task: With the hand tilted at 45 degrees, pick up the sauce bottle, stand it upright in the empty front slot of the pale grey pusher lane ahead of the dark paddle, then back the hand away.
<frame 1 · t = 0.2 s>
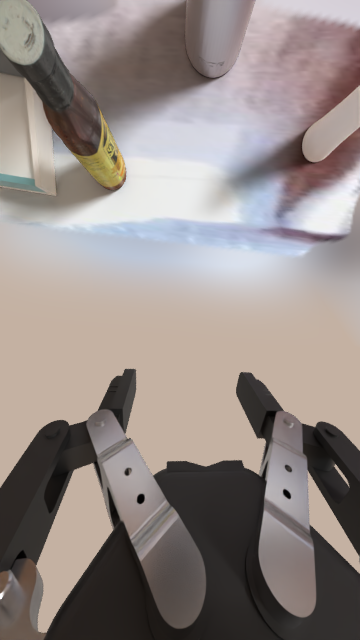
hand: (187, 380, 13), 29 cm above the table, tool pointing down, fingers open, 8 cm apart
cosmetic bottle: (316, 143, 32), on the table
pusher lane: (18, 131, 30), on the table
sauce bottle: (111, 171, 32), on the table
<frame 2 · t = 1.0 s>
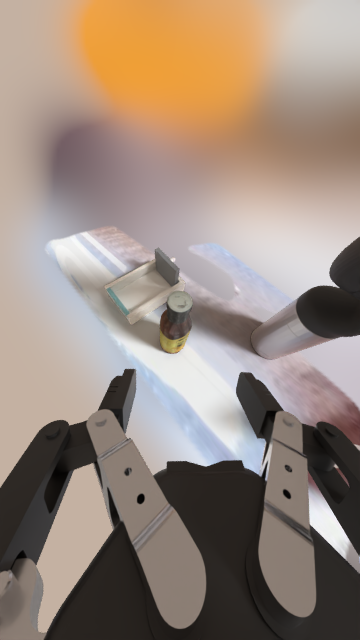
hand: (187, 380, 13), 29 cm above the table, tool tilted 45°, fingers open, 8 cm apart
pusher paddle: (169, 267, 47), point 5 cm above the table, slide at 0.0 cm
pusher lane: (147, 292, 49), on the table
sauce bottle: (172, 342, 44), on the table
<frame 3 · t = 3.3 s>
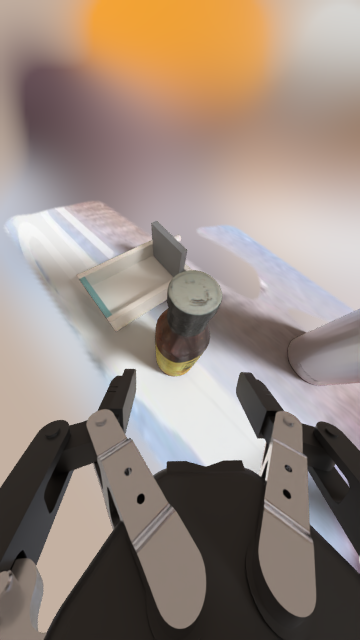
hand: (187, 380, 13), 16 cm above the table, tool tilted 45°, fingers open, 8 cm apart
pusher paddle: (171, 251, 33), point 5 cm above the table, slide at 0.0 cm
pusher lane: (140, 286, 35), on the table
sauce bottle: (174, 358, 30), on the table
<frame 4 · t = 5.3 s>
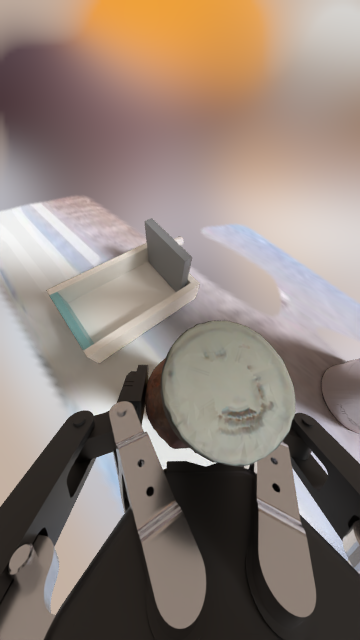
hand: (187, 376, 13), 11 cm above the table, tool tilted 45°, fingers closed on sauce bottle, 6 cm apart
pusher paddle: (171, 257, 26), point 5 cm above the table, slide at 0.0 cm
pusher lane: (132, 301, 28), on the table
sauce bottle: (176, 399, 23), on the table, touching gripper
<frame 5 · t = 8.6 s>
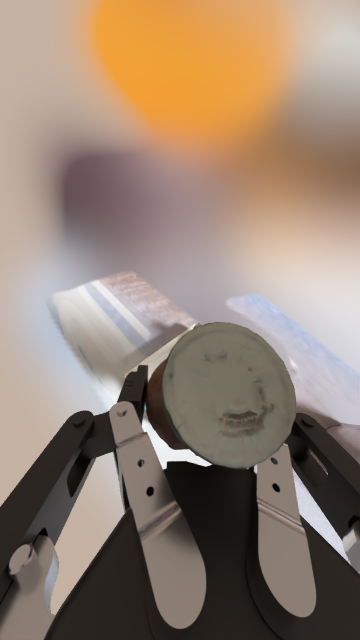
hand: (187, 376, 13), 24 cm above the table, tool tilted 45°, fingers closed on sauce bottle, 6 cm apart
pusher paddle: (210, 344, 35), point 5 cm above the table, slide at 0.0 cm
pusher lane: (177, 372, 37), on the table
sauce bottle: (176, 399, 23), point 13 cm above the table, touching gripper
when the fingers open (13 cm above the table, at t = 12.1 s): sauce bottle drops 2 cm, resting on pusher lane.
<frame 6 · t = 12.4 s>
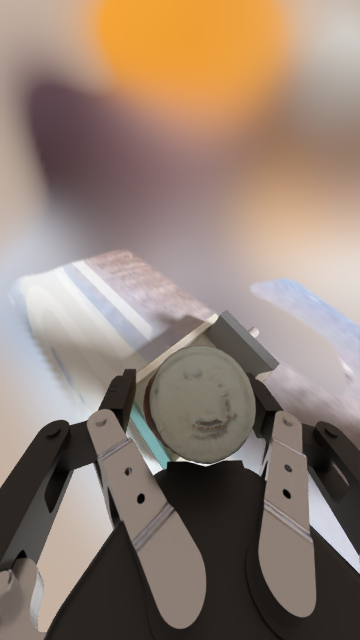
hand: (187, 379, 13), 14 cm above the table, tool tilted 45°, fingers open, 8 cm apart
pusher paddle: (240, 342, 24), point 5 cm above the table, slide at 0.0 cm
pusher lane: (192, 383, 26), on the table
sauce bottle: (175, 400, 24), point 1 cm above the table, touching pusher lane
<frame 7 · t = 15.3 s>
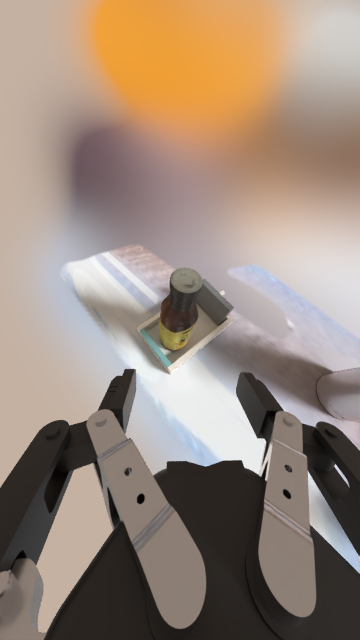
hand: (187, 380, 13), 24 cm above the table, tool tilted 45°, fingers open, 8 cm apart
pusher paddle: (214, 301, 38), point 5 cm above the table, slide at 0.0 cm
pusher lane: (185, 329, 40), on the table
sauce bottle: (173, 338, 38), point 1 cm above the table, touching pusher lane
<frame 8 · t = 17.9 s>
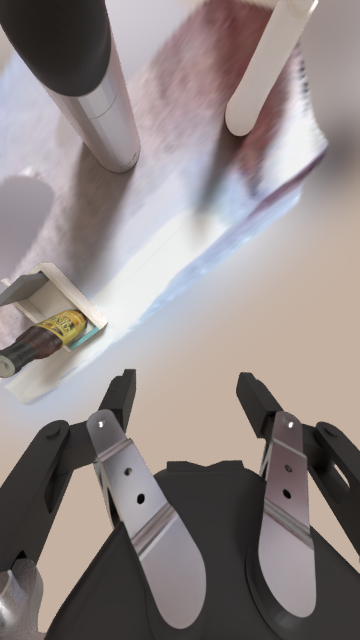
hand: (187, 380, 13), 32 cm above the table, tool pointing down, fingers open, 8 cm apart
cosmetic bottle: (240, 116, 32), on the table
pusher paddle: (21, 284, 35), point 5 cm above the table, slide at 0.0 cm
pusher lane: (65, 307, 43), on the table
sauce bottle: (75, 319, 43), point 1 cm above the table, touching pusher lane
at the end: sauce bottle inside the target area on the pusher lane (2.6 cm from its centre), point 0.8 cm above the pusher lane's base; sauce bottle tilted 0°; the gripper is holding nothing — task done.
